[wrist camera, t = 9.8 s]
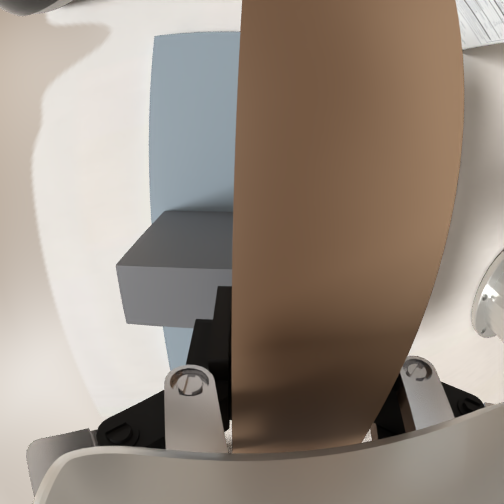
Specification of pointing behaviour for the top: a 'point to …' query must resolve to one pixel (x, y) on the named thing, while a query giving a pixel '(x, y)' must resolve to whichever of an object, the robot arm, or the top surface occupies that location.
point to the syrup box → (480, 22)
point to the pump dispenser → (31, 6)
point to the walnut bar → (337, 208)
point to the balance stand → (186, 188)
